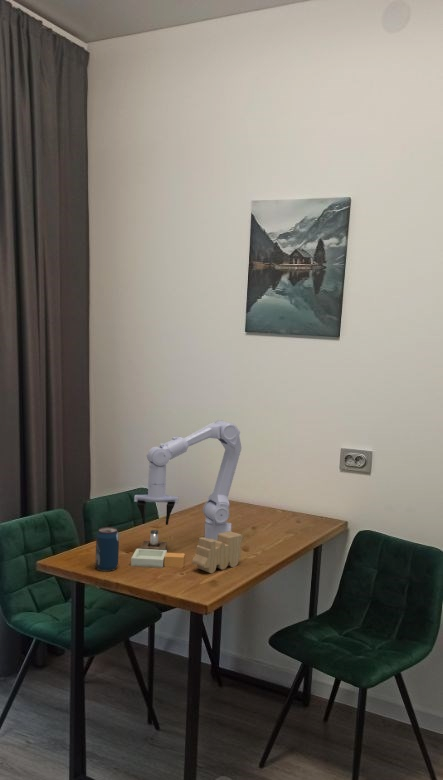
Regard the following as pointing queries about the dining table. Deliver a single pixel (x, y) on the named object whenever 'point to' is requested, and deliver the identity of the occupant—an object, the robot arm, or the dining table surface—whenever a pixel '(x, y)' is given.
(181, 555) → the block
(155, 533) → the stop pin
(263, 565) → the dining table surface
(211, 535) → the robot arm
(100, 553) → the soda can
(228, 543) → the toy train
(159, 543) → the socket block
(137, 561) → the tray
